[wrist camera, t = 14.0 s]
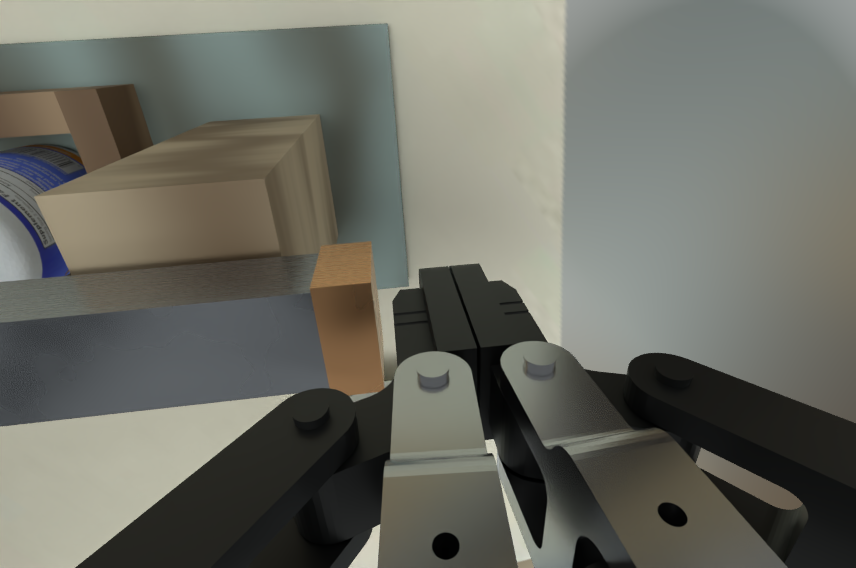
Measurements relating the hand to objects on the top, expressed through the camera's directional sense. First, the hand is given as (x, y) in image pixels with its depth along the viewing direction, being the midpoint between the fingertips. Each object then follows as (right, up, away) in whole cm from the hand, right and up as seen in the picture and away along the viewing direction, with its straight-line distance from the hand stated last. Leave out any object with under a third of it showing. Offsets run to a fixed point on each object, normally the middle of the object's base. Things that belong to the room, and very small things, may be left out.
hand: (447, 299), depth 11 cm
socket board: (-13, +5, +11) cm, 18 cm away
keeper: (-7, 0, 0) cm, 7 cm away
